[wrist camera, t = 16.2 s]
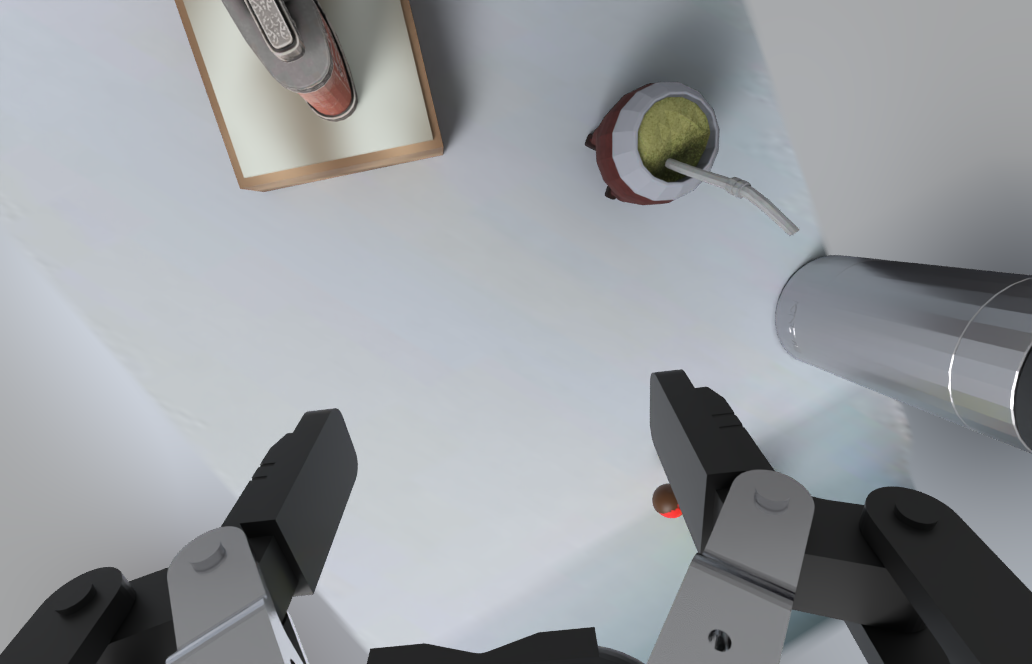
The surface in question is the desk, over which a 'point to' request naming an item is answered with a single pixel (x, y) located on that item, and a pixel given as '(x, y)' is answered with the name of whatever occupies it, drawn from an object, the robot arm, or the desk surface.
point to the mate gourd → (666, 149)
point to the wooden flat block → (288, 118)
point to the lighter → (299, 52)
